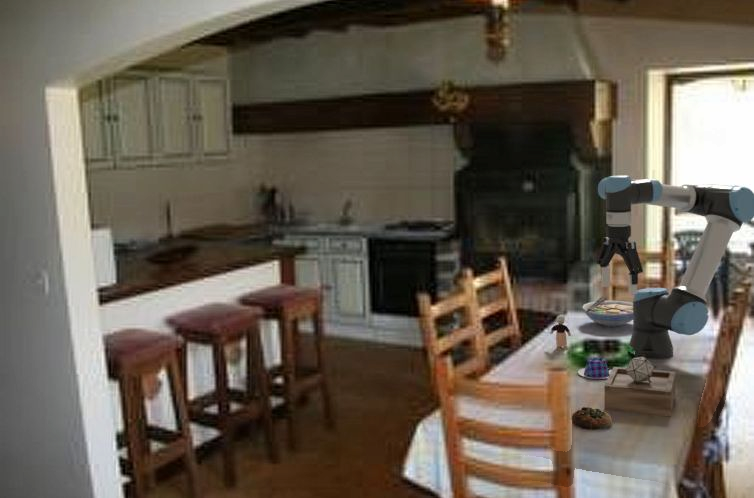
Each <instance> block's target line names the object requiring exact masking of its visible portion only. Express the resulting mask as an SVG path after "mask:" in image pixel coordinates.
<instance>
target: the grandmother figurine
mask: <svg viewBox="0 0 754 498" xmlns="http://www.w3.org/2000/svg"><path fill="white" fill-rule="evenodd" d="M565 319H566V317H565V316H564V315H563V314H559V315H557V316H556V318H555V320H554V321H555V322H556V323H557V324H555V325H553V326H552V327H551V330H550V335H553V333H554V332H555V331H556V334H555V342H556V347H555V349H556V350H561V349H562V350H564V351H565V350H569V349H568V348H569V346H568V343H567V335H568V337H571V336H572V333H571V331H570V329H569V327H568V326H567V325H566V324H565Z"/></svg>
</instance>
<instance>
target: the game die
mask: <svg viewBox="0 0 754 498" xmlns="http://www.w3.org/2000/svg"><path fill="white" fill-rule="evenodd" d="M644 356H645V354H643V357H637V356H636V357H633V358H632V356H630V355H629V359H630V360H629V362H628V364H627V367H626V368H627V369H626V371H623V373H625V372H626V373H627V374H628V375H629V376H630V377H631V378H632V379H633V380H634V381H635V382H636V383H635V384H636V385H637V382H642V381H649V382H651V381H650V380H649V379H650V377H651V375H652V372H653V370H655V368H656V369H657V367H658V366H657V365H655V366H654V364H652V362H650V360H648V358H645V357H644Z"/></svg>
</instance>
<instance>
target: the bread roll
mask: <svg viewBox="0 0 754 498" xmlns="http://www.w3.org/2000/svg"><path fill="white" fill-rule="evenodd" d="M571 421H572V423H573V424H574V426H576V427H578V428H580V429H583V430H601V429H607V428H609V427H611V426H612V425H613V419H612V417H611V415H610V414H609V413H608V412H606V411H604V410H601V409H600V408H592V407H589V406H586V407H585V406H583V407H582V408H580V409H578V410H576V411H575V412H572V415H571Z"/></svg>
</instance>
